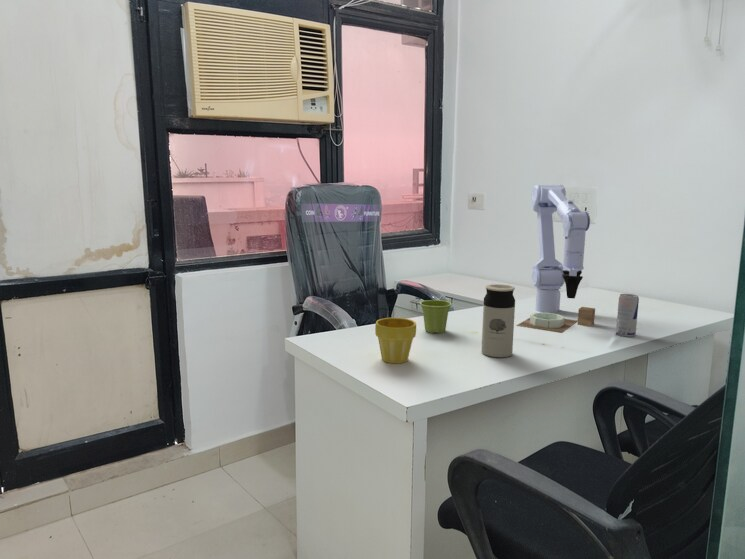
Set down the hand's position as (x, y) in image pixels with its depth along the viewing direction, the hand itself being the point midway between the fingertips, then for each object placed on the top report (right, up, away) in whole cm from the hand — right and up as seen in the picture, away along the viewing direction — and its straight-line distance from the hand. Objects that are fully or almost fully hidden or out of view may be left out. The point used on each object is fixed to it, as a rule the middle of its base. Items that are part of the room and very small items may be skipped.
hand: (570, 295), depth 170 cm
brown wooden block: (+6, -10, +3) cm, 12 cm away
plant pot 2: (-42, -11, -2) cm, 44 cm away
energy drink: (+14, -12, -5) cm, 19 cm away
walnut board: (-6, -10, +4) cm, 12 cm away
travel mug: (-28, -15, -24) cm, 40 cm away
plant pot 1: (-55, -16, -29) cm, 65 cm away
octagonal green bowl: (-6, -9, +3) cm, 11 cm away
